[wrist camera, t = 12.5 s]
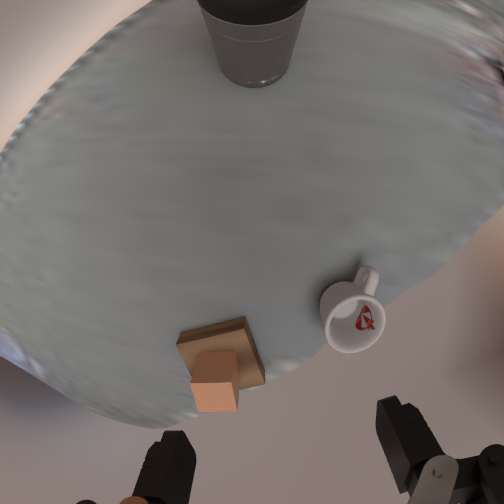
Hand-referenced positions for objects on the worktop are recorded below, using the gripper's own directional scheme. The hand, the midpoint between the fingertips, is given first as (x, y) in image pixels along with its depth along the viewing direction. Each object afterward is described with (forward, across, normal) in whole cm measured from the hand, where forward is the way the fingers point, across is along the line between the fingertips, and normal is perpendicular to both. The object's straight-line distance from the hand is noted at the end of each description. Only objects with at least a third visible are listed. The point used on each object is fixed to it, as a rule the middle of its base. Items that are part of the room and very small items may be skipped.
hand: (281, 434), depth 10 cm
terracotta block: (+26, +9, +14) cm, 31 cm away
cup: (+30, -10, +8) cm, 33 cm away
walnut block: (+30, +9, +14) cm, 35 cm away
